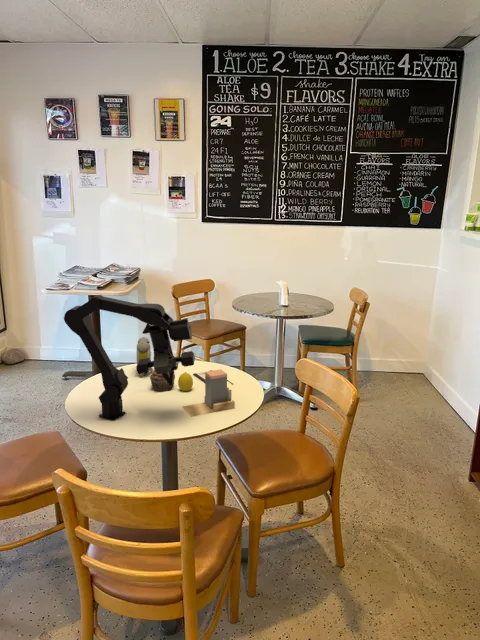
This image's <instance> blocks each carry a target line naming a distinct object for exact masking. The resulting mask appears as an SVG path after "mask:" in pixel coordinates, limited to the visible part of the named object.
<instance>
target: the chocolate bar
mask: <svg viewBox="0 0 480 640" xmlns="http://www.w3.org/2000/svg"><path fill="white" fill-rule="evenodd" d="M208 371H213V370H207V371H206V370H205V371H200V372H195V373H192V375H193V377H195V378H197V379H198V380H199V381H200V382H202V383H203V384H205V372H208ZM227 383H229V384H231V385H232V386H234V383H233V382H231V381H230V380H228V379H227Z"/></svg>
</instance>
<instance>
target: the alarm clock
mask: <svg viewBox="0 0 480 640" xmlns="http://www.w3.org/2000/svg"><path fill="white" fill-rule="evenodd" d="M151 356H152V353H151V344H150V340H149V338H147V337H145V336H142V337H140V338H139V339H138V340H137V344H136V365H137V364H138V361H139V360H140V359H145V358H150V359H151ZM151 360H152V359H151ZM153 370H154V368H153V367H150V368H149V370H148V372H150V373H152V371H153ZM139 375H140V378H143V375H144V373H142V374H139Z"/></svg>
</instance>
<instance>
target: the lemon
mask: <svg viewBox="0 0 480 640" xmlns="http://www.w3.org/2000/svg"><path fill="white" fill-rule="evenodd" d="M193 383H194V381H193V376H192V375H191V374H190V373H187V372H183V373H182V374H180V375H179V376H178V381H177V385H178V387H179V389H180V390H181V391H182V392H189V391H190V390H191V389H192V388H193Z"/></svg>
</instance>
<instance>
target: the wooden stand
mask: <svg viewBox="0 0 480 640" xmlns="http://www.w3.org/2000/svg"><path fill="white" fill-rule="evenodd" d="M203 398H204V402H200V403H195V404H189V405H183V406H181V408H183V409H184V411H185V412H186V414H188V415H189V416H190V418H192V417H193V418H194V417H199V416H202V415H203V416H204V415H208V414H213V413H218V412H224V411H229V410H233V409H236V407H235V406H236V405H235V404H236V403H235V400H232V389H229V387H228V386H227V402H221V403H216V404H213V409H210V408H209V407H208V406H207V405H206V404H205V395H204V397H203Z"/></svg>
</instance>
